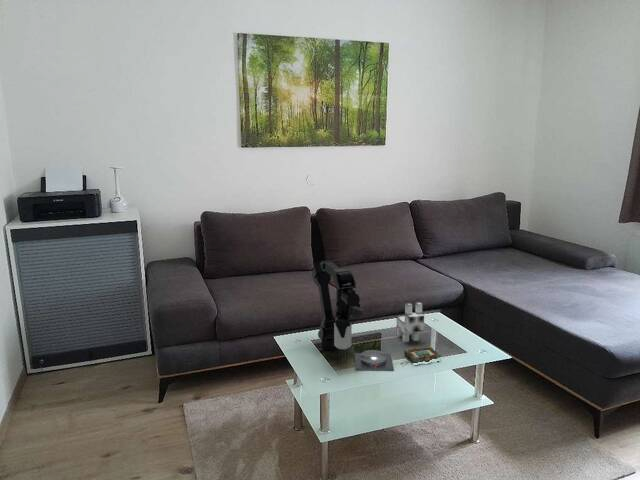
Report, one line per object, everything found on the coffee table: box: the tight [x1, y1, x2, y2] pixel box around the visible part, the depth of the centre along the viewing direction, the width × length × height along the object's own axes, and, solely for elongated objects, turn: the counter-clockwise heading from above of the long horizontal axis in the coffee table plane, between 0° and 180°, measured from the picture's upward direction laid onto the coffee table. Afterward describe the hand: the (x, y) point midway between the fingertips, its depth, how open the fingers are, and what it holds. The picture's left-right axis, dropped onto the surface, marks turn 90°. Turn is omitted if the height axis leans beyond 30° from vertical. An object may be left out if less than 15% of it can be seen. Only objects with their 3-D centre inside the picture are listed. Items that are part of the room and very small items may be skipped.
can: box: [334, 321, 353, 350], centre depth 210 cm, size 8×8×12 cm
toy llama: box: [396, 301, 425, 344], centre depth 234 cm, size 8×18×20 cm, turn 13°
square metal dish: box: [354, 349, 395, 372], centre depth 211 cm, size 16×15×4 cm
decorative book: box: [399, 346, 442, 365], centre depth 212 cm, size 13×18×5 cm
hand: (342, 334), depth 210 cm, fingers closed on can, 7 cm apart
